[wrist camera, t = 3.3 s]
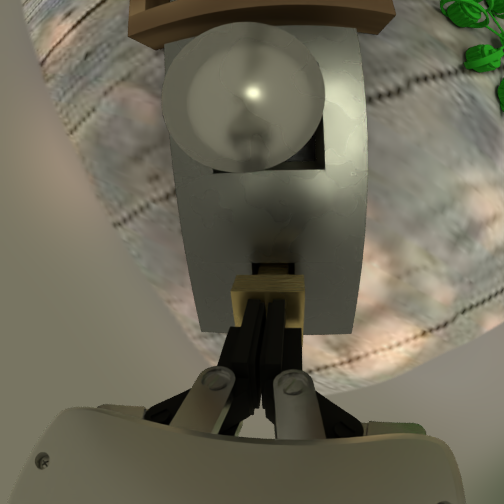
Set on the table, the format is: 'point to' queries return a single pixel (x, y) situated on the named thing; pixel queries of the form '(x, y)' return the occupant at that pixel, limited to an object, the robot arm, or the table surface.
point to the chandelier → (467, 16)
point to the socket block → (286, 203)
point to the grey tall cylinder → (243, 97)
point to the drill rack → (249, 16)
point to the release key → (271, 292)
